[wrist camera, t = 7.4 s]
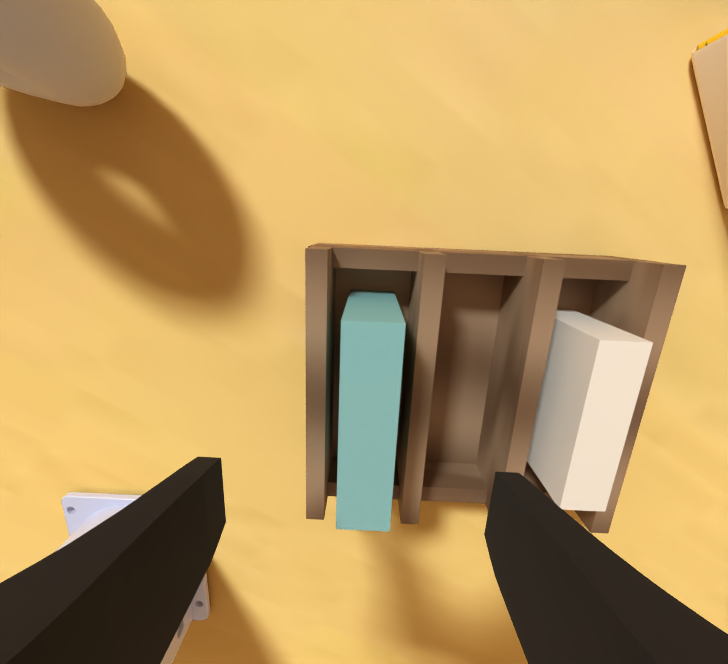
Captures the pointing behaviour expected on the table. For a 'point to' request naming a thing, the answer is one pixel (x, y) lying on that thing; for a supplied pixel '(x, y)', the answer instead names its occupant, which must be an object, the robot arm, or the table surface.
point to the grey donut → (60, 51)
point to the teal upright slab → (368, 408)
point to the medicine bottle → (715, 100)
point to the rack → (469, 358)
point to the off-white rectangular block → (585, 409)
